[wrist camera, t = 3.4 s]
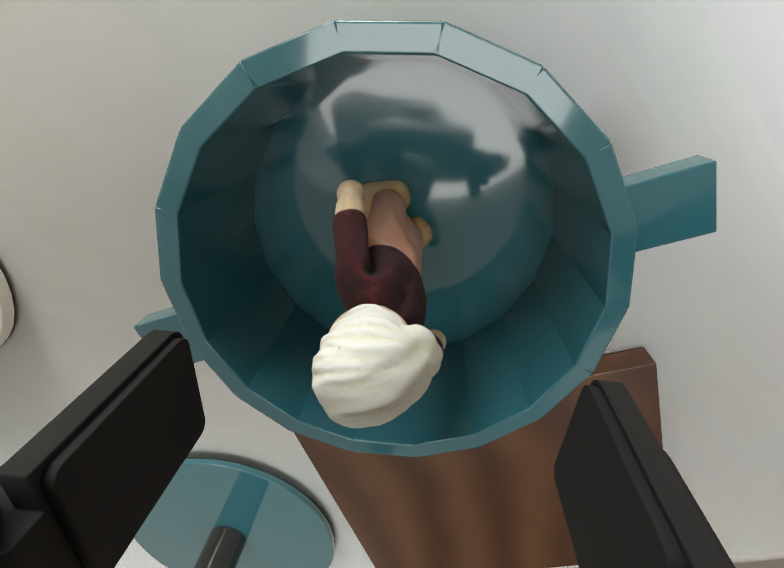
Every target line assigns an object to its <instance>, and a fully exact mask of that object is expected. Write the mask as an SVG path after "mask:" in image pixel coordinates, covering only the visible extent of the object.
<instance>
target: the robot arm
mask: <svg viewBox="0 0 784 568" xmlns="http://www.w3.org/2000/svg"><path fill="white" fill-rule="evenodd" d="M14 313H15V311H14V305H13V299H12V294H11V291H10V288H9V286H8V283H7V280H6V278H5V276H4V274H3V273H2V271H1V269H0V346H1V345H2V344H3V343H4V342H5V341H6V339H7V338H8V337H9V335H10V333H11V330H12V328H13V325H14ZM204 426H205V416H204V411H203V407H202V402H201V397H200V392H199V387H198V383H197V378H196V373H195V368H194V363H193V359H192V354H191V349H190V344H189V341H188V340H187V339H184V338H183V335H182V334H181V333H180V332H175V331H167V330H158V329H155V330H152V331H151V332H149V333H148V334H147V335H146V336H145V337H144V338H142V339H141V340H140V341H139V342H138V343H137V344H136V345H135V346H134V347H132V348H131V349H130V350H129V351H128V352H127V353H126V354H125V355H124V356H123V357H121V358H120V359H119V360H118V361H117V362H116V363H115V364H114V365H113V366H111V367H110V368H109V369H108V370H107V371H106V372H105V373H104V374H103V375H102V376H100V377H99V378H98V379H97V380H96V381H95V382H94V383H93V384H92V385H90V386H89V387H88V388H87V389H86V390H85V391H84V392H83V393H82V394H81V395H79V396H78V397H77V398H76V399H75V400H74V401H73V402H72V403H71V404H69V405H68V406H67V407H66V408H65V409H64V410H63V411H62V412H61V413H60V414H58V415H57V416H56V417H55V418H54V419H53V420H52V421H51V422H50V423H48V424H47V425H46V426H45V427H44V428H43V429H42V430H41V431H40V432H39V433H37V434H36V435H35V436H34V437H33V438H32V439H31V440H30V441H29V442H27V443H26V444H25V445H24V446H23V447H22V448H21V449H20V450H19V451H18V452H16V453H15V454H14V455H13V456H12V457H11V458H10V459H9V460H8V461H6V462H5V463H4V464H3V465H2V466H1V467H0V568H114V567H115V566H116V564H117V563H118V561H119V560H120V558H121V557H122V555H123V554H124V552H125V551H126V549H127V548H128V546H129V544H130V543H131V541H132V540H133V538H134V537H135V535H136V534H137V532H138V531H139V529H140V528H141V526H142V525H143V523H144V522H145V520H146V518H147V517H148V515H149V514H150V512H151V511H152V509H153V508H154V506H155V505H156V503H157V502H158V500H159V499H160V497H161V496H162V494H163V492H164V491H165V489H166V488H167V486H168V485H169V483H170V482H171V480H172V479H173V477H174V476H175V474H176V473H177V471H178V469H179V468H180V466H181V465H182V463H183V462H184V460H185V459H186V457H187V456H188V454H189V453H190V451H191V450H192V448H193V447H194V445H195V443H196V442H197V440H198V439H199V437H200V436H201V434H202V432H203V430H204ZM554 479H555V483H556V487H557V490H558V494H559V497H560V501H561V505H562V508H563V512H564V515H565V519H566V523H567V526H568V530H569V533H570V537H571V540H572V544H573V548H574V551H575V555H576V558H577V562H578V565H579V568H735V566H734V565H733V563H732V561H731V559H730V558H729V556H728V554H727V553H726V551H725V549H724V548H723V546H722V544H721V543H720V541H719V539H718V538H717V536H716V534H715V532H714V531H713V529H712V527H711V526H710V524H709V522H708V521H707V519H706V517H705V516H704V514H703V512H702V511H701V509H700V507H699V505H698V504H697V502H696V500H695V499H694V497H693V495H692V494H691V492H690V490H689V489H688V487H687V485H686V484H685V482H684V480H683V479H682V477H681V475H680V473H679V472H678V470H677V468H676V467H675V465H674V463H673V462H672V460H671V458H670V457H669V456H668V454H667V453H666V452H665V451H664V450H663V449H662V447H661V446H660V444H659V442H658V441H657V439H656V437H655V435H654V434H653V432H652V430H651V429H650V427H649V425H648V423H647V422H646V420H645V418H644V417H643V415H642V413H641V412H640V410H639V408H638V406H637V405H636V403H635V401H634V400H633V398H632V396H631V394H630V393H629V391H628V389H627V388H626V386H625V385H624V384H623V383H621V382H613V381H605V380H593V381H592V382H591V384H590V385H584V386H583V388H582V390H581V393H580V396H579V398H578V401H577V404H576V407H575V409H574V412H573V415H572V418H571V420H570V423H569V426H568V429H567V431H566V434H565V437H564V439H563V442H562V445H561V448H560V450H559V453H558V456H557V459H556V461H555V465H554Z"/></svg>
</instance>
